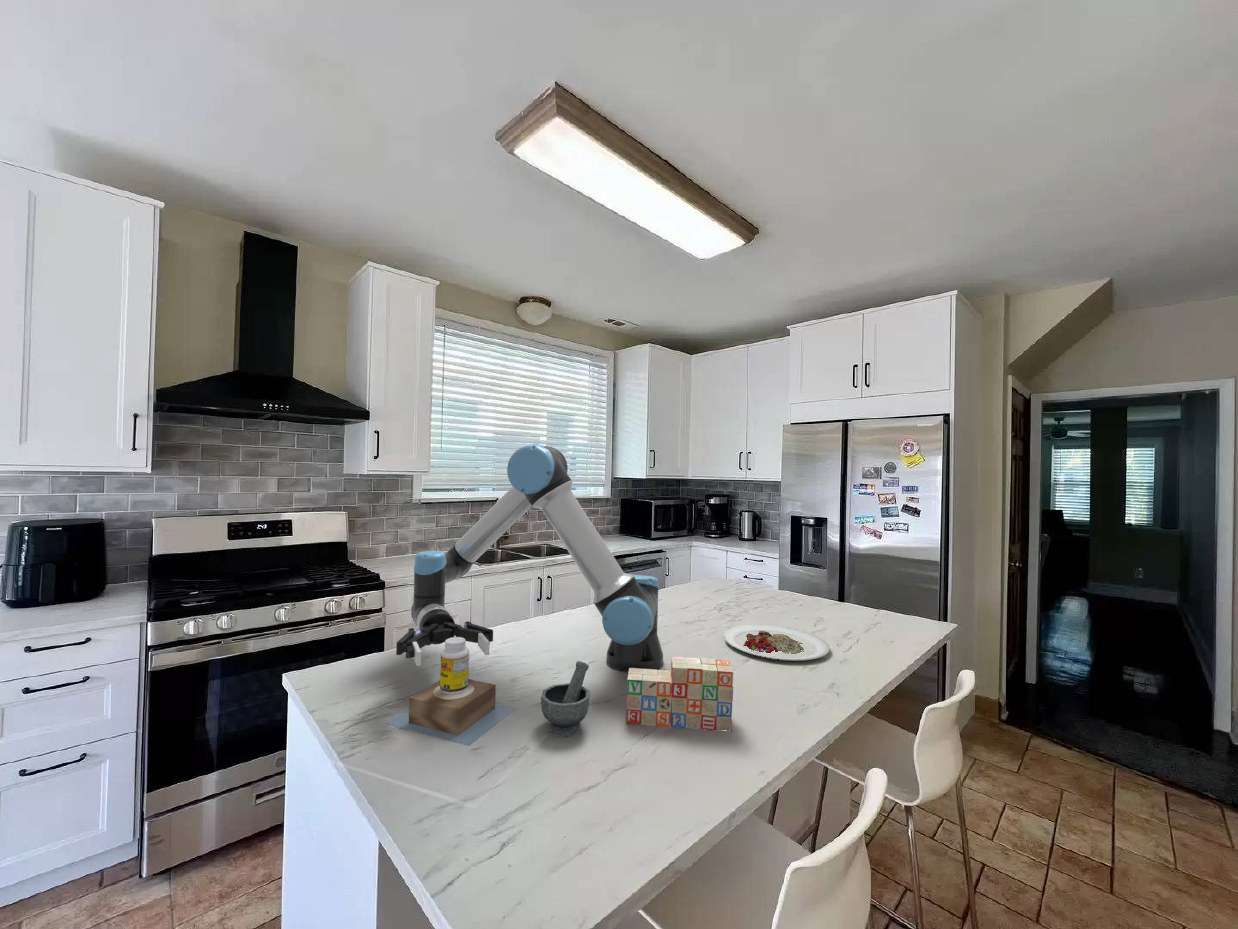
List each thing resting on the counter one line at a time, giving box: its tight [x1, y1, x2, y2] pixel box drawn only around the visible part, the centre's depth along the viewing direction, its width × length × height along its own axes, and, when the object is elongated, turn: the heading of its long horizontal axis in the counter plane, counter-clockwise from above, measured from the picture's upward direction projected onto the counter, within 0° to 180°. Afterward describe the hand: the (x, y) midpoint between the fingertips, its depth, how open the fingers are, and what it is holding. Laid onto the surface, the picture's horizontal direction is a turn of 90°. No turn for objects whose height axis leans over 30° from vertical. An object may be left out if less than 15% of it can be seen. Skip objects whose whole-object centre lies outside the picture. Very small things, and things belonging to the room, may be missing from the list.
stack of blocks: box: [625, 656, 734, 732], centre depth 107 cm, size 21×6×12 cm, turn 85°
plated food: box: [723, 624, 831, 661], centre depth 154 cm, size 30×30×3 cm
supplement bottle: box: [439, 636, 470, 695], centre depth 106 cm, size 6×6×10 cm
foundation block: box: [408, 678, 497, 736], centre depth 106 cm, size 12×12×5 cm
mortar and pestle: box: [540, 660, 591, 738], centre depth 103 cm, size 11×9×12 cm
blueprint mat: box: [384, 702, 517, 746], centre depth 106 cm, size 20×16×1 cm
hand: (454, 653), depth 105 cm, fingers open, 13 cm apart
